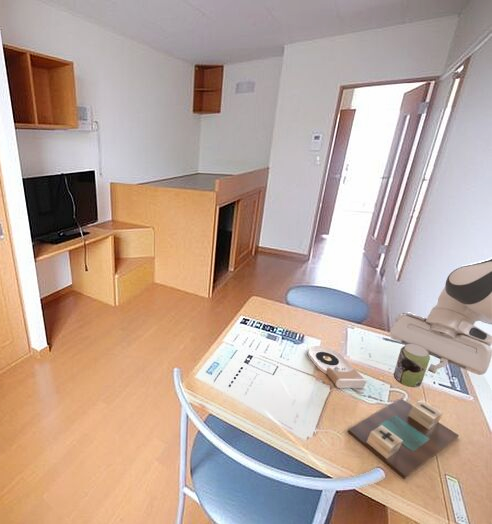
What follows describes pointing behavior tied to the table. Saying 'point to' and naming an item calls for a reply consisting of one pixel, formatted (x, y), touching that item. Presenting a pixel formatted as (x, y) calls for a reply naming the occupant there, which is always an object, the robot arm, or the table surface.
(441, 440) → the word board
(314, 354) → the record player
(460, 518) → the table surface
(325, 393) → the table surface
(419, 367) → the beverage can
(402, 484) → the table surface
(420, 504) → the table surface
